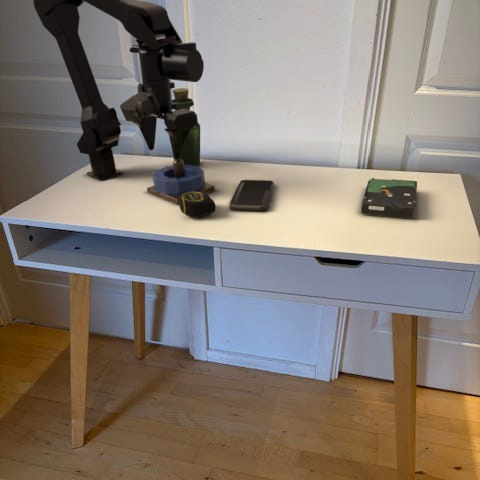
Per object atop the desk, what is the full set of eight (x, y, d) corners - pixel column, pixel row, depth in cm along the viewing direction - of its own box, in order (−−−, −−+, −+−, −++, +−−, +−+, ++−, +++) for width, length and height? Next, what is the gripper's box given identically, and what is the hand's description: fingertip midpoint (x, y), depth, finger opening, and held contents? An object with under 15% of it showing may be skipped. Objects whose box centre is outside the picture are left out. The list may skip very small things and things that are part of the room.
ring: (144, 188, 111) (142, 175, 110) (179, 174, 118) (177, 161, 117) (179, 198, 106) (178, 185, 104) (214, 183, 113) (213, 170, 111)
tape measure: (217, 217, 100) (216, 199, 98) (184, 222, 99) (182, 204, 96) (208, 205, 105) (207, 188, 103) (177, 209, 104) (175, 192, 102)
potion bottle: (205, 168, 125) (200, 91, 114) (173, 172, 123) (165, 94, 113) (200, 159, 131) (194, 85, 121) (170, 162, 130) (161, 88, 119)
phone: (228, 204, 102) (241, 179, 114) (229, 209, 103) (241, 184, 115) (266, 206, 101) (275, 180, 113) (266, 211, 101) (275, 185, 113)
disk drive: (414, 221, 96) (415, 192, 108) (416, 207, 95) (417, 179, 106) (360, 216, 99) (366, 188, 110) (361, 202, 97) (368, 176, 108)
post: (147, 192, 112) (142, 159, 108) (184, 179, 119) (181, 148, 114) (178, 205, 106) (174, 170, 102) (215, 190, 112) (213, 157, 108)
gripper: (97, 78, 102) (110, 153, 111) (152, 90, 92) (161, 173, 101) (140, 70, 108) (149, 142, 118) (197, 81, 98) (201, 159, 107)
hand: (163, 154), depth 111 cm, fingers open, 9 cm apart
